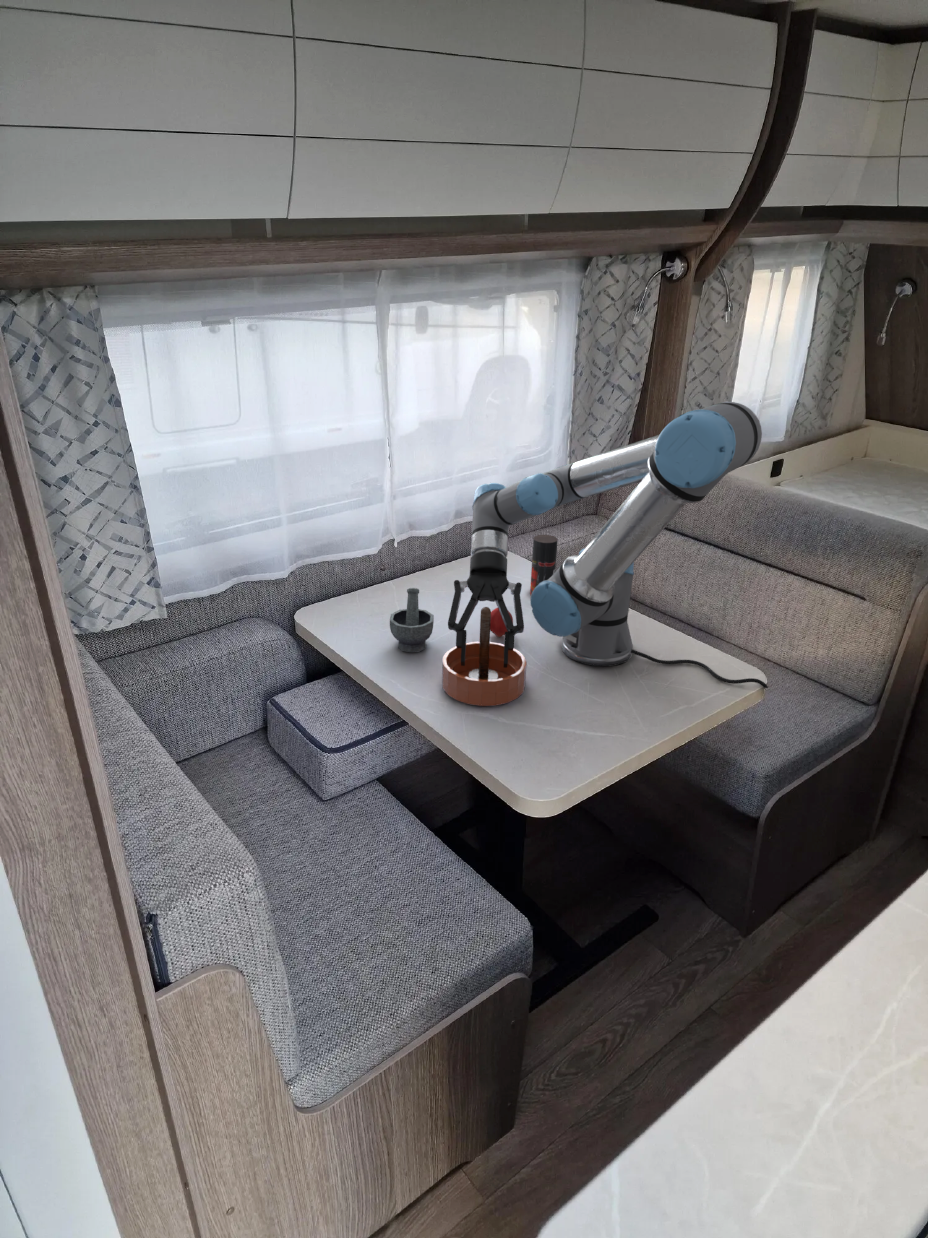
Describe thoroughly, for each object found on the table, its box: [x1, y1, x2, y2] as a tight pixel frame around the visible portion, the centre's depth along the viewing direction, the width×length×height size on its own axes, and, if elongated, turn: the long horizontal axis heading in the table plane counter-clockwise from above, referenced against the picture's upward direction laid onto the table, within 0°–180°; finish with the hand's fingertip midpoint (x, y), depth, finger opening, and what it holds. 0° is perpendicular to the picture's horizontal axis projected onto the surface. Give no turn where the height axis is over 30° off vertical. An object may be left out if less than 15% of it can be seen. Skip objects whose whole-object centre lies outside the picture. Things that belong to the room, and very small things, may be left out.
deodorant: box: [529, 534, 559, 596], centre depth 204 cm, size 6×6×15 cm
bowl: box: [441, 641, 528, 707], centre depth 163 cm, size 17×17×6 cm
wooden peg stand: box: [468, 606, 498, 680], centre depth 161 cm, size 6×6×17 cm
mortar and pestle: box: [389, 587, 435, 653], centre depth 178 cm, size 11×9×12 cm
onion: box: [490, 607, 514, 638], centre depth 183 cm, size 6×6×8 cm
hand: (484, 664), depth 159 cm, fingers open, 8 cm apart
